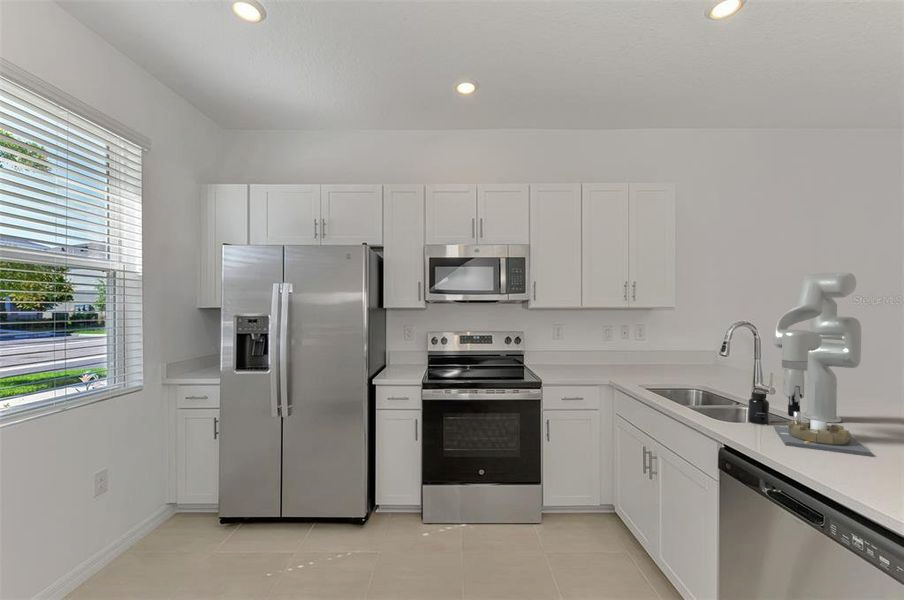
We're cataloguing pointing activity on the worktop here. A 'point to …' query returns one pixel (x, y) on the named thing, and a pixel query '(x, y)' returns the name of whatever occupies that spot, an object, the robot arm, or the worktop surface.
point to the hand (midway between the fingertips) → (793, 416)
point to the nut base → (849, 448)
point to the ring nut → (818, 432)
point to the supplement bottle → (758, 409)
